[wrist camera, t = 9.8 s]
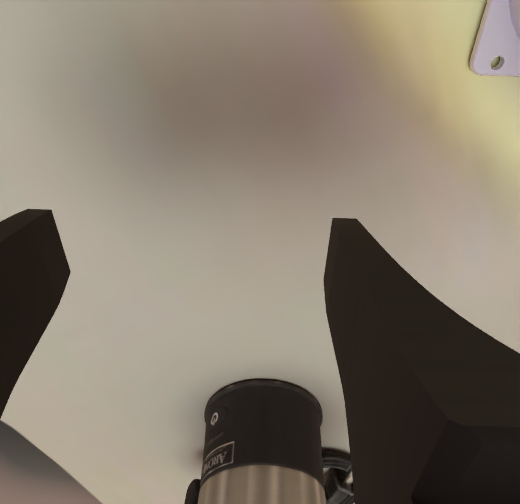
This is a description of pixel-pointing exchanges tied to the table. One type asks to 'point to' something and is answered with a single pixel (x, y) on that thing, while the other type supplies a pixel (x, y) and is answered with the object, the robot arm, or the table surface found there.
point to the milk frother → (268, 450)
